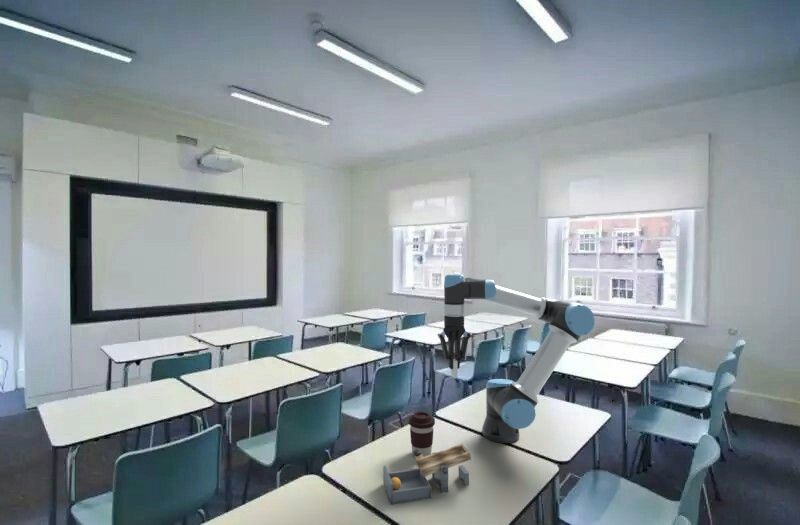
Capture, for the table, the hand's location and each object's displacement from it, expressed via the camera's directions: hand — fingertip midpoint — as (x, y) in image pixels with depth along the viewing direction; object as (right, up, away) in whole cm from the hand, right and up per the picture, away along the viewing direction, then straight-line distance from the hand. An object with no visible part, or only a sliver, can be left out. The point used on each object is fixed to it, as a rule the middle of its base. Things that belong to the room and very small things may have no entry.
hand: (454, 377), depth 143 cm
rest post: (+1, -30, -17) cm, 34 cm away
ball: (-22, -27, -23) cm, 42 cm away
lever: (-7, -23, -15) cm, 28 cm away
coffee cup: (-12, -30, 0) cm, 32 cm away
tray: (-19, -30, -23) cm, 42 cm away
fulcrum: (-8, -30, -19) cm, 36 cm away
